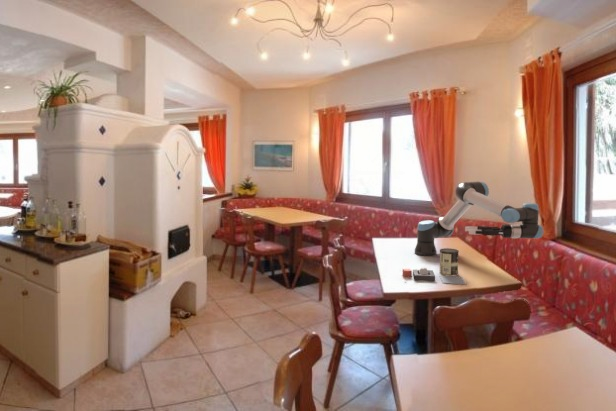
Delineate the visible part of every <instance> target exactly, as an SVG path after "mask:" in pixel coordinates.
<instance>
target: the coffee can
mask: <svg viewBox="0 0 616 411" xmlns="http://www.w3.org/2000/svg"><path fill="white" fill-rule="evenodd" d="M459 252H460V251H459V250H458V249H456V248H448V247H447V248H440V249H439V274H440V276H454V277H458V275H459Z"/></svg>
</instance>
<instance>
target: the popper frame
mask: <svg viewBox="0 0 616 411" xmlns="http://www.w3.org/2000/svg"><path fill="white" fill-rule="evenodd" d="M427 270H428V272H429V275H426V274H419V271H420V269H412V277H413V281H416V282H417V281H419V282H420V281H421V282H436V274H435V272H434V270H430V269H427Z"/></svg>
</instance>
